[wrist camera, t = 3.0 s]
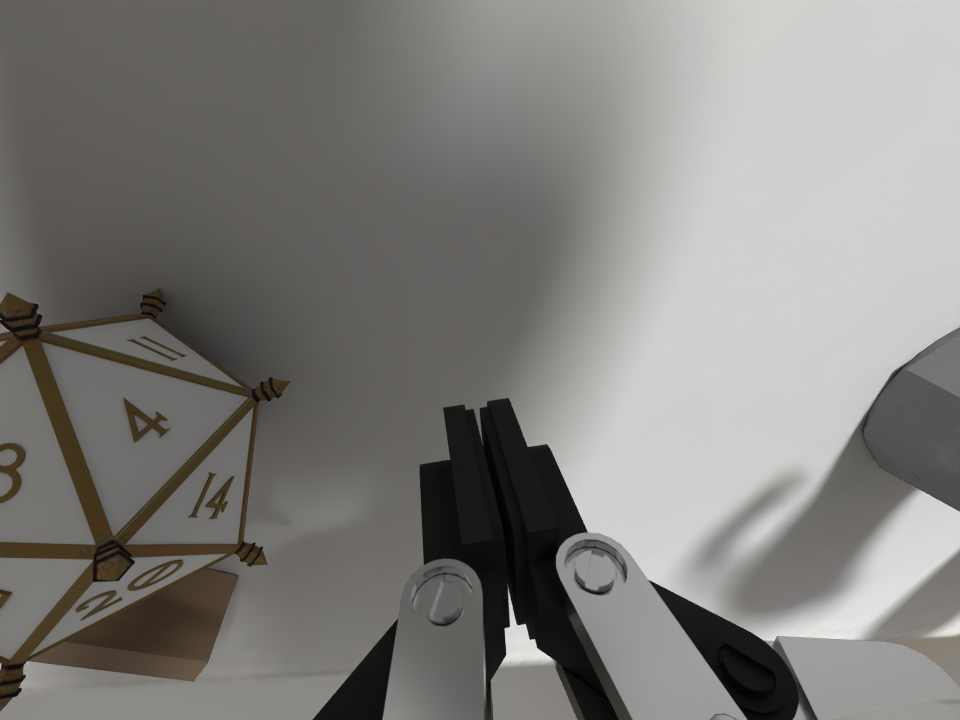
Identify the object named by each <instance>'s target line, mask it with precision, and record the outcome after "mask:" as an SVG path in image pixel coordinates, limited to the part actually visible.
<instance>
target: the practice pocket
mask: <svg viewBox="0 0 960 720" xmlns="http://www.w3.org/2000/svg"><path fill="white" fill-rule="evenodd" d="M237 578H238V576H237V575H233V574H228V573H224V572H219V571H215V570H211V569H206V568H205V569H203V570H201V571H199V572H198V573H196V574H194V575H192V576H190V577H188V578H186V579H184V580H182V581H180V582H178V583H176V584H174V585H173V586H171V587H169V588H167V589H165V590H163V591H161V592H159V593H157V594H155V595H153V596H151V597H150V598H148V599H146V600H144V601H142V602H140V603H138V604H136V605H134V606H132V607H130V608H128V609H126V610H125V611H123V612H121V613H119V614H117V615H115V616H113V617H111V618H109V619H107V620H105V621H103V622H101V623H100V624H98V625H96V626H94V627H92V628H90V629H88V630H86V631H84V632H82V633H80V634H78V635H76V636H75V637H73V638H71V639H69V640H67V641H65V642H63V643H61V644H59V645H57V646H55V647H53V648H51V649H50V650H48V651H46V652H44V653H42V654H40V655H38V656H36V657H34V658H32V659H30V660H28V661H32V662H40V663H48V664H56V665H64V666H72V667H80V668H88V669H97V670H105V671H113V672H121V673H129V674H137V675H145V676H153V677H161V678H170V679H178V680H186V681H194V680H195V679H196V678H197V676H198V675H199V674H200V672H201V671H202V670H203V668H204V667H205V666H206V664H207V663H208V661H209V658H210V655H211V652H212V649H213V646H214V643H215V641H216V638H217V635H218V632H219V629H220V626H221V623H222V621H223V618H224V615H225V612H226V609H227V606H228V603H229V601H230V598H231V595H232V592H233V589H234V586H235V583H236V580H237Z"/></svg>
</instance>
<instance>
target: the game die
mask: <svg viewBox="0 0 960 720" xmlns="http://www.w3.org/2000/svg"><path fill="white" fill-rule="evenodd" d="M140 305H141V309H142V313H141V314H137V315H129V316H121V317H113V318H105V319H97V320H89V321H81V322H74V323H66V324H58V325H50V326H42V327H38V326H39V324H40V322H41V319H42V315H40V314H37V309H38V307H39V306H38V304H33V303H28V302H26V301H24V300H22V299H20V298H18V297H16V296H14V295H12V294H10V293H8V292H7V294H6V296H5V297H4V299H3V301H2V302H1V304H0V318H1V319H2V320H0V323H1V324H2V325H3V326H4V327H6V328H7V329H8V330H9V331H10V332H6V333H1V334H0V663H2V665H1V670H0V711H1V710H2V709H3V707H5V706H6V705H7V703H8V702H9V701H10V700H11V699H12V698H13V697H16V696H17V695H18V694H19V693H20V692H21V690H22V688H19V687H20V683H21V682H22V681H23V680H24V679H25V677H26V675H23V666H24V664H25V663H26V662H27V661H28V660H30V659H32V658H34V657H36V656H38V655H40V654H42V653H44V652H46V651H48V650H50V649H51V648H53V647H55V646H57V645H59V644H61V643H63V642H65V641H67V640H69V639H71V638H73V637H75V636H76V635H78V634H80V633H82V632H84V631H86V630H88V629H90V628H92V627H94V626H96V625H98V624H100V623H101V622H103V621H105V620H107V619H109V618H111V617H113V616H115V615H117V614H119V613H121V612H123V611H125V610H126V609H128V608H130V607H132V606H134V605H136V604H138V603H140V602H142V601H144V600H146V599H148V598H150V597H151V596H153V595H155V594H157V593H159V592H161V591H163V590H165V589H167V588H169V587H171V586H173V585H174V584H176V583H178V582H180V581H182V580H184V579H186V578H188V577H190V576H192V575H194V574H196V573H198V572H199V571H201V570H203V569H205V568H207V567H209V566H211V565H213V564H215V563H217V562H219V561H221V560H223V559H224V558H226V557H228V556H230V555H232V554H237V555H238V556H239V557H240V558H241V559H240V561H242V562H244V561H245V562H246V563H248V564H247V565H248V566H250V567H251V566H252V565H267V561H266V559H265V556H264V553H263V551H262V549H263V547H262V546H261V547H260V548H259V547H257V546H255V544H256V543H253V544H248V543H245V542H244V541H243V537H244V529H245V520H246V511H247V503H248V494H249V485H250V476H251V468H252V459H253V450H254V442H255V433H256V424H257V416H258V407H259V401H261V400H267V401H270V400H271V399H272V398H274V397H277V398H279V397H280V396H281V395H282V391H283V390H284V389H285V388H286V387H287V385H288V384H289V383H290V382H289V381H282V380H275V379H273V378H271V377H270V378H269V381H267V382H263V381H262V382H260V385H259V386H258V387H257V388H256V389H251V388H250V387H248V386H247V385H245V384H244V383H243V382H241V381H240V380H239V379H237V378H236V377H234V376H233V375H232V374H230V373H229V372H228V371H226V370H225V369H223V368H222V367H221V366H219V365H218V364H216V363H215V362H214V361H212V360H211V359H210V358H208V357H207V356H205V355H204V354H203V353H201V352H200V351H199V350H197V349H196V348H194V347H193V346H192V345H190V344H189V343H187V342H186V341H185V340H183V339H182V338H181V337H179V336H178V335H176V334H175V333H174V332H172V331H171V330H170V329H168V328H167V327H165V326H164V325H163V324H161V323H160V322H159V321H157V320H156V316H157V315H158V314H159V313H160V312H163V310H162V307H163V306H164V305H166V303H165V302H164V301H163V299H162V297H161V294H160V292H159V289H157V290H155V291H153V292H152V293H150V294H148V295H143V302H141V304H140Z"/></svg>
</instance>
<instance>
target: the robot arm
mask: <svg viewBox="0 0 960 720" xmlns="http://www.w3.org/2000/svg"><path fill="white" fill-rule="evenodd" d="M443 409H444V417H445V424H446V431H447V439H448V446H449V453H450V460H446V461H439V462H433V463H427V464H421V465H420V490H421V512H422V533H423V554H424V565H423V566H422V567H420V568H419V569H418V570H417V571H416V572H415V573H414V574H412V576H411V577H410V579H409V580H408V582H407V583H406V585H405V588H404V591H403V594H402V598H401V605H400V611H399V617H398V619H397V620H396V621H395V623H394V624H393V625H392V626H391V627H390V629H389V630H388V631H387V632H386V633H385V634H384V636H383V637H382V638H381V639H380V640H379V642H378V643H377V644H376V645H375V646H374V647H373V649H372V650H371V651H370V652H369V653H368V655H367V656H366V657H365V658H364V659H363V661H362V662H361V663H360V664H359V665H358V666H357V668H356V669H355V670H354V671H353V672H352V674H351V675H350V676H349V677H348V678H347V680H346V681H345V682H344V683H343V684H342V685H341V687H340V688H339V689H338V690H337V692H336V693H335V694H334V695H333V696H332V697H331V698H330V700H329V701H328V702H327V703H326V704H325V706H324V707H323V708H322V709H321V710H320V712H319V713H318V714H317V715H316V716H315V718H314V719H313V720H493V696H492V695H493V693H492V678H493V676H494V674H495V673H496V671H497V669H498V668H499V666H500V664H501V663H502V661H503V659H504V658H505V656H506V644H505V630H504V628H507V627H510V620H509V603H508V588H509V593H510V597H511V601H512V606H513V610H514V615H515V619H516V623H517V625H522V624H526V626H527V630H528V634H529V638H530V640H531V639H535V641H536V645H537V648H538V649H539V650H541V651H542V652H544V653H545V654H547V655H548V656H550V657H551V658H552V659H553V660H554V664H555V667H556V670H557V673H558V675H559V677H560V680H561V682H562V684H563V687H564V689H565V692H566V694H567V696H568V699H569V701H570V703H571V706H572V708H573V711H574V713H575V715H576V718H577V720H960V688H959V687H958V685H956V683H955V682H954V681H953V680H952V679H951V678H950V677H949V676H948V675H947V674H946V673H945V672H944V670H943V669H941V668H940V667H939V666H937V665H936V664H935V663H933V662H932V661H931V660H929V659H928V658H927V657H925V656H924V655H923V654H920V653H918V652H916V651H914V650H912V649H910V648H908V647H906V646H904V645H900V644H895V643H890V642H882V641H863V640H844V639H825V638H805V637H786V636H777V637H776V639H775V641H763V640H762V639H760V638H759V637H757V636H756V635H754V634H753V633H751V632H749V631H747V630H745V629H743V628H741V627H739V626H737V625H735V624H733V623H731V622H730V621H728V620H726V619H724V618H722V617H720V616H718V615H716V614H714V613H712V612H710V611H708V610H706V609H704V608H702V607H700V606H698V605H696V604H694V603H693V602H691V601H689V600H687V599H685V598H683V597H681V596H679V595H677V594H675V593H673V592H671V591H669V590H667V589H665V588H663V587H661V586H659V585H657V584H656V583H654V582H652V581H650V580H648V579H647V578H646V576H645V575H644V573H643V572H642V571H641V569H640V568H639V566H638V565H637V564H636V562H635V561H634V559H633V558H632V556H631V555H630V554H629V553H628V551H627V550H626V549H625V548H624V547H623V546H622V545H621V544H620V543H618V542H616V541H615V540H613V539H612V538H610V537H607V536H605V535H602V534H599V533H588V532H587V529H586V527H585V525H584V523H583V521H582V518H581V516H580V514H579V512H578V509H577V507H576V505H575V503H574V501H573V498H572V496H571V494H570V492H569V489H568V487H567V485H566V483H565V481H564V478H563V476H562V474H561V472H560V469H559V467H558V465H557V463H556V461H555V458H554V456H553V454H552V452H551V450H550V448H549V446H548V445H547V444H545V445H539V446H533V447H527V444H526V442H525V439H524V436H523V434H522V431H521V429H520V426H519V423H518V421H517V418H516V416H515V413H514V410H513V408H512V405H511V402H510V400H509V399H508V398H505V399H499V400H492V401H487V407H483V408H480V419H481V431H482V441H481V437H480V433H479V429H478V425H477V421H476V417H475V413H474V409H470V410H466V409H465V405H458V406H451V407H445V408H443ZM482 443H483V445H482ZM507 584H508V586H507Z"/></svg>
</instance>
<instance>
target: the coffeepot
mask: <svg viewBox="0 0 960 720" xmlns="http://www.w3.org/2000/svg"><path fill="white" fill-rule="evenodd" d="M864 439H865V444H866V446H867V448H868V449H869V451H870V452H871V453H872V455H873V456H874V457H875V459H876V461H877V463H878V466H879V467H880V468H882V469H884V470H886V471H887V472H889V473H891V474H893V475H895V476H896V477H898V478H900V479H902V480H904V481H905V482H907V483H909V484H911V485H913V486H915V487H916V488H918V489H920V490H922V491H924V492H925V493H927V494H929V495H931V496H933V497H934V498H936V499H938V500H940V501H942V502H943V503H945V504H947V505H949V506H951V507H952V508H954V509H956V510H958V511H960V328H958V329H956V330H955V331H953V332H951V333H949V334H948V335H946V336H944V337H942V338H941V339H939V340H937V341H936V342H935V343H933V344H932V345H930V346H929V347H928V348H926V349H925V350H923V351H922V352H921V353H919V354H918V355H917V356H916V357H915V358H913V359H912V360H911V361H910V362H909V363H908V364H907V365H905V366H904V367H903V368H902V369H901V370H900V371H899V372H898V373H897V374H896V375H895V377H894V378H893V379H892V380H891V381H890V382H889V383H888V384H887V386H886V387H885V388H884V390H883V391H882V392H881V394H880V395H879V396H878V398H877V399H876V401H875V403H874V405H873V407H872V408H871V410H870V412H869V415H868V418H867V420H866V423H865V427H864Z"/></svg>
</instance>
